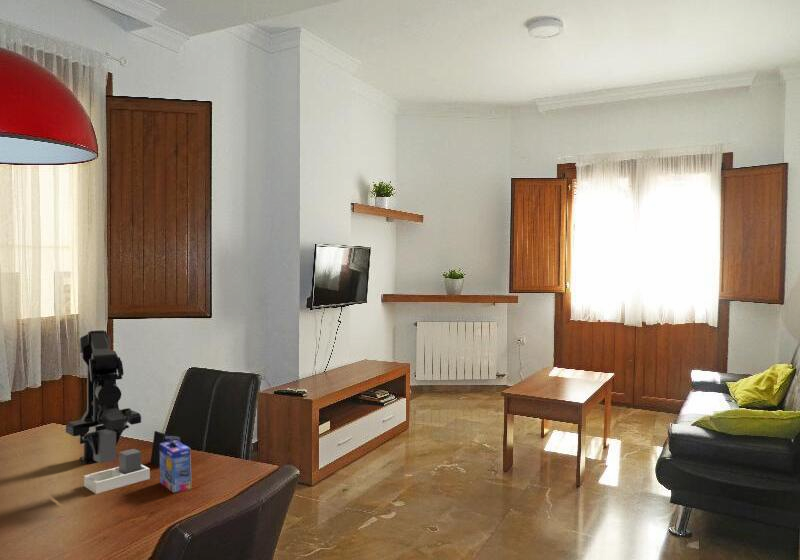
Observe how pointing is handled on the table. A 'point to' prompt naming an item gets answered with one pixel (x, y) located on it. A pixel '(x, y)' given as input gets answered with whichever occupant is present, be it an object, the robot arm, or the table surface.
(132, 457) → the twin plug
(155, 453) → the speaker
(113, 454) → the grey rectangular block
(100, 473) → the dock
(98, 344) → the robot arm
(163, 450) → the ink cartridge box
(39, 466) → the table surface
